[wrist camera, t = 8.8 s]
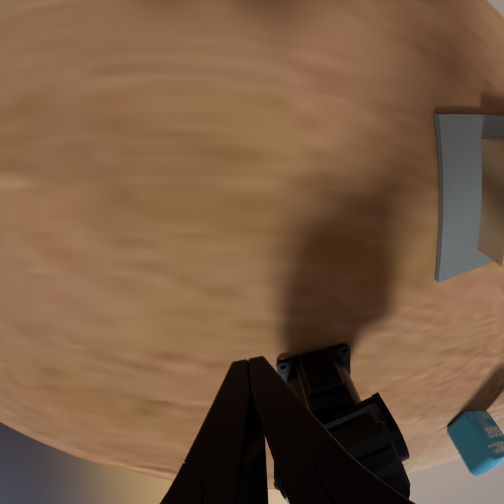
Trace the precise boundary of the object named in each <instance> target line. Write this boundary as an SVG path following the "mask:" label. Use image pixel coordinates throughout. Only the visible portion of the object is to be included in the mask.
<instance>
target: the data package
mask: <svg viewBox="0 0 504 504" xmlns="http://www.w3.org/2000/svg"><path fill="white" fill-rule="evenodd" d="M447 433H448V435H449V437H450V438H451V440H452V442H453V443H454V445H455V447H456V449H457V450H458V452H459V454H460V456H461V457H462V459H463V461H464V463H465V465H466V466H467V468H468V470H469V472H470V473H471V474H472V475H473V476H478V475H481V474H483V473H485V472H487V471H489V470H491V469H493V468H495V467H496V466H498V465H499V464H500V463H501V462H502V461H503V460H504V435H503V433H502V432H501V430H500V429H499V427H498V426H497V424H496V423H495V421H494V420H493V418H492V417H491V416H490V414H489V413H488V412H486V411H464V412H463V413H462V414H461V415H460V416H459V417H458V418H457V419H456V420H455V421H454V422H453V423H452V424H451V425H450V426H449V427H448V428H447Z"/></svg>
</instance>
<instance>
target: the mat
mask: <svg viewBox="0 0 504 504" xmlns="http://www.w3.org/2000/svg"><path fill="white" fill-rule="evenodd" d="M434 120H435V130H436V140H437V154H438V174H439V226H438V246H437V260H436V271H435V280H436V281H437V282H440V281H443V280H446V279H449V278H451V277H454V276H457V275H459V274H462V273H465V272H467V271H470V270H472V269H475V268H478V267H480V266H483V265H485V264H488V263H490V262H492V261H494V260H492V259H491V258H489V257H488V256H486V255H485V254H483V253H482V252H480V251H479V250H477V248H478V239H479V229H480V216H481V197H482V151H481V139H484V138H504V115H484V114H434Z"/></svg>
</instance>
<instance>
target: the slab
mask: <svg viewBox="0 0 504 504" xmlns="http://www.w3.org/2000/svg"><path fill="white" fill-rule="evenodd" d="M481 151H482V197H481V216H480V229H479V239H478V248H477V250H479V251H480V252H482V253H483V254H485V255H486V256H488V257H489V258H491V259H492V260H494V261H495V262H497V263H498V264H499V265H501V266H503V265H504V138H484V139H481Z"/></svg>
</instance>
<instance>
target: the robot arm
mask: <svg viewBox="0 0 504 504" xmlns="http://www.w3.org/2000/svg"><path fill="white" fill-rule="evenodd" d="M343 349H344V350H343ZM282 365H284V366H282ZM276 366H277V370H278V373H277V372H276V371H275V369H274V368H273V367H272V366H271V365H270V363H269V362H268V361H267V360H266V359H265V357H263V356H258V357H254V358H250V359H249V360H246V359H244V360H239V361H234V362H233V363H232V364H231V366H230V368H229V370H228V372H227V374H226V376H225V379H224V381H223V383H222V385H221V387H220V389H219V391H218V393H217V395H216V397H215V399H214V402H213V404H212V406H211V408H210V410H209V412H208V414H207V416H206V418H205V420H204V422H203V424H202V426H201V428H200V430H199V432H198V434H197V436H196V438H195V440H194V442H193V444H192V446H191V448H190V450H189V452H188V454H187V456H186V458H185V460H184V462H185V463H183V464H182V466H181V468H180V470H179V472H178V474H177V476H176V478H175V480H174V481H173V483H172V485H171V487H170V488H169V490H168V492H167V493H166V495H165V496H164V498H163V499H162V501H161V503H160V504H268V488H267V469H266V450H265V437H266V439H267V442H268V445H269V448H270V451H271V454H272V457H273V459H274V486H275V488H276V489H277V490H279V491H280V492H281V494H282V496H283V497H284V499H285V500H286V501H287V502H288V503H289V504H415V503H413V502H412V501H410V500H409V496H410V482H409V479H408V477H407V474H406V471H405V469H404V466H403V464H402V462H403V461H405V460H407V459H409V452H408V449H407V446H406V443H405V441H404V438H403V436H402V434H401V432H400V430H399V428H398V426H397V424H396V422H395V420H394V418H393V417H392V415H391V413H390V412H389V410H388V408H387V407H386V405H385V403H384V402H383V400H382V398H381V397H380V395H379V393H378V392H377V393H375V394H373V395H372V397H370V398H367V399H365V400H363V401H361V399H360V397H359V395H358V393H357V391H356V389H355V386H354V384H353V382H352V380H351V378H350V347H349V345H348V344H346V343H345V344H341V345H337V346H334V347H330V348H327V349H323V350H319V351H316V352H312V353H308V354H304V355H300V356H296V357H292V358H288V359H284V360H280V361H278V362H277V364H276ZM264 434H265V435H264Z"/></svg>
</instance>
